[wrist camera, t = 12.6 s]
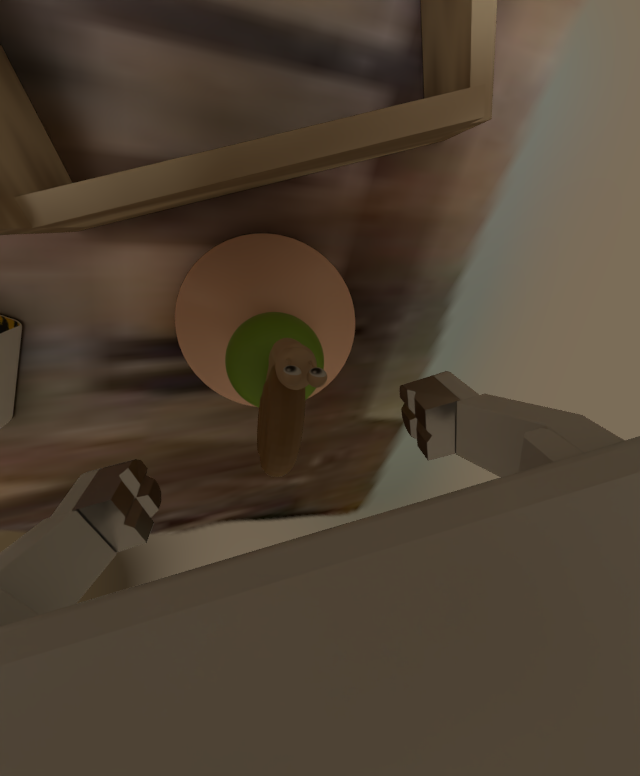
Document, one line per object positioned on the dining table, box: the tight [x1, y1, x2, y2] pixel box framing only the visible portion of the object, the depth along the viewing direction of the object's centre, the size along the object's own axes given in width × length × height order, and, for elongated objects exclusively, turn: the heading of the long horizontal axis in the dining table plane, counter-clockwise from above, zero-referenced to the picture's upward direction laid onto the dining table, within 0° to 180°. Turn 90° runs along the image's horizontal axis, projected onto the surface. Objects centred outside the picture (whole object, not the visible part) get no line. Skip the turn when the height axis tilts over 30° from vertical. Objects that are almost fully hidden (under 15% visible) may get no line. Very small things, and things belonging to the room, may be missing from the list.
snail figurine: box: [225, 312, 327, 477], centre depth 14 cm, size 5×6×12 cm
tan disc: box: [175, 233, 355, 407], centre depth 19 cm, size 11×11×1 cm
